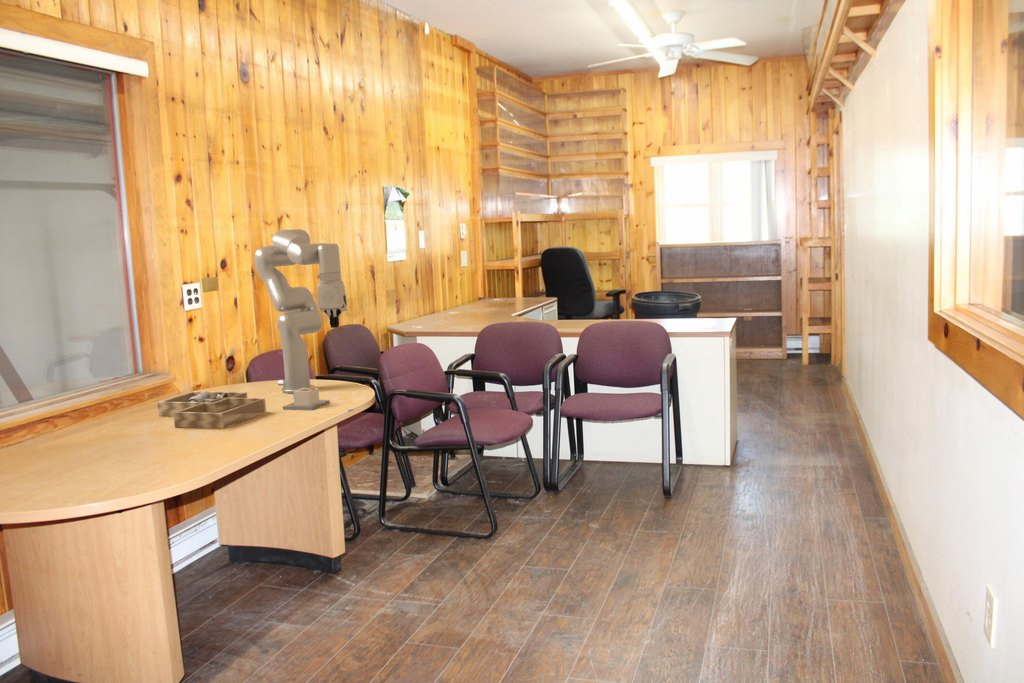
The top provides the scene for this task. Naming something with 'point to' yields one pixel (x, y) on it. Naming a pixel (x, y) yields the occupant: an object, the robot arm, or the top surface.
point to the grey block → (306, 396)
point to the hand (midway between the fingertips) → (334, 327)
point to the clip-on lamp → (205, 397)
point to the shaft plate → (306, 407)
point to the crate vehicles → (237, 413)
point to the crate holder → (182, 403)
